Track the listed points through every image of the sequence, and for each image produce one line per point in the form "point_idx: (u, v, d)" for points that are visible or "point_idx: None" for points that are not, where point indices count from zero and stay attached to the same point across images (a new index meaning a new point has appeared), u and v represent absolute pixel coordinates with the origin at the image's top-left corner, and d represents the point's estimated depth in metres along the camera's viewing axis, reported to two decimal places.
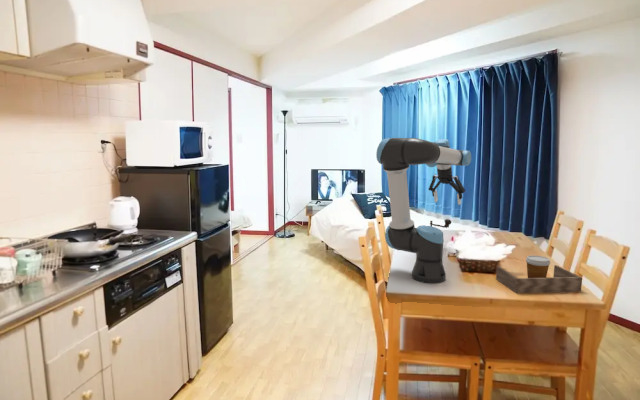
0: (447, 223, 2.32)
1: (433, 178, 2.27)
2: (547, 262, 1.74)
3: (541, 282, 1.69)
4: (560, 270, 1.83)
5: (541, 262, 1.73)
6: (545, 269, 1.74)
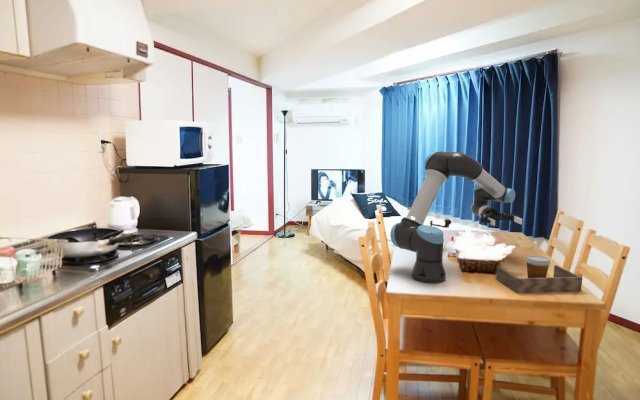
0: (447, 223, 2.32)
1: (482, 214, 2.15)
2: (547, 262, 1.74)
3: (541, 282, 1.69)
4: (560, 270, 1.83)
5: (541, 262, 1.73)
6: (545, 269, 1.74)
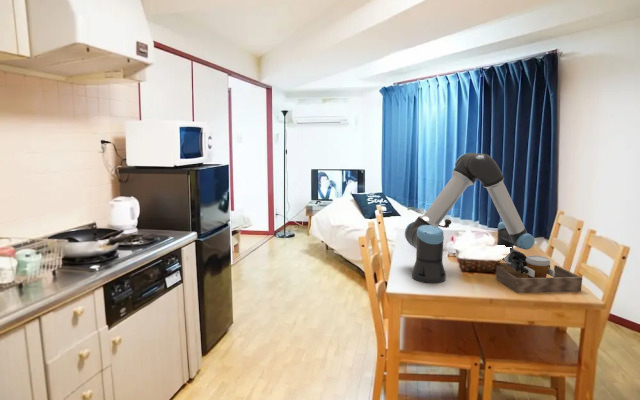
0: (447, 223, 2.32)
1: (511, 260, 1.88)
2: (547, 262, 1.74)
3: (541, 282, 1.69)
4: (560, 270, 1.83)
5: (541, 262, 1.73)
6: (545, 269, 1.74)
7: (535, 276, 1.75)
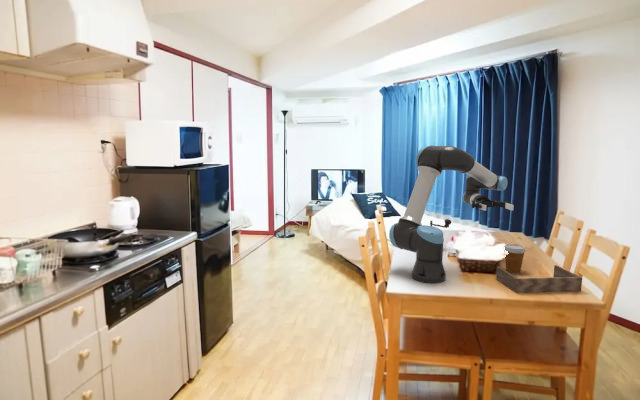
0: (447, 223, 2.32)
1: (473, 201, 2.13)
2: (522, 250, 1.93)
3: (541, 282, 1.69)
4: (560, 270, 1.83)
5: (517, 250, 1.92)
6: (521, 256, 1.93)
7: (512, 263, 1.94)
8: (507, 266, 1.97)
